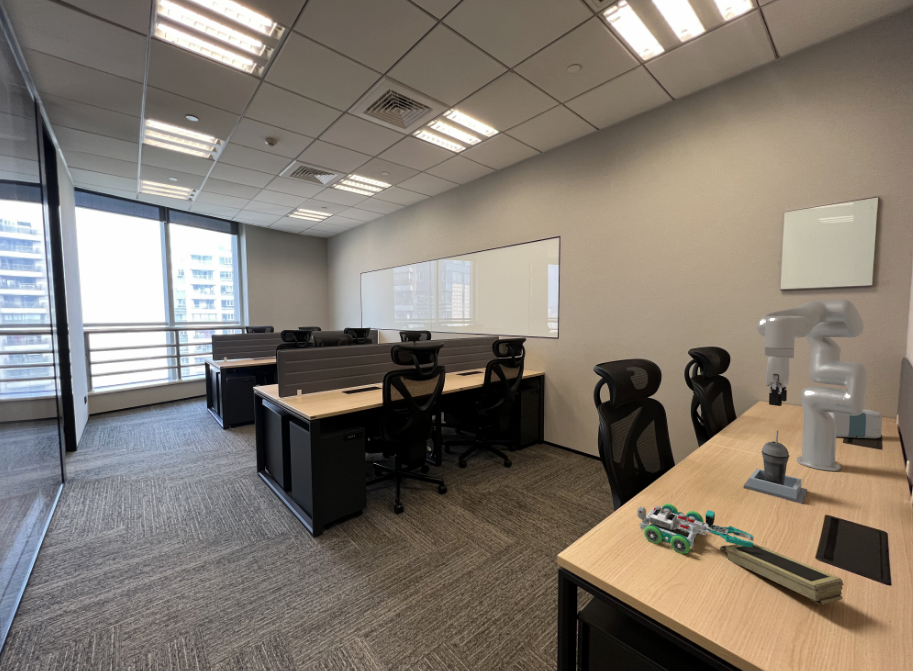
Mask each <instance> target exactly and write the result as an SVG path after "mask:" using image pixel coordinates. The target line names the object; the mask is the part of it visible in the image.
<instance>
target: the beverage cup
mask: <svg viewBox="0 0 913 671" xmlns="http://www.w3.org/2000/svg"><path fill="white" fill-rule="evenodd" d="M778 439H779V429H777V430H776V434H775V441H768V442H766V443H765V444H764V445H763V446H762V449H761V457H762V460H763V470H764V473H765V481H768V482H772V483H776V484H780V485H784V480H785V475H786V472H787V465H788V462H789V458H790V454H789V453H790V452H789V450H788V448H787V447H786V446H785V445H783V444H782V443H781V442H778V441H779V440H778Z"/></svg>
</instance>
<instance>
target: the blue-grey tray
mask: <svg viewBox="0 0 913 671" xmlns="http://www.w3.org/2000/svg"><path fill="white" fill-rule="evenodd" d="M743 488H744V489H747V490H751V491H754V492H757V493H762V494H765V495H769V496H772V497H776V498H779V499H783V500H787V501H791V502H795V503H799V504H802V505H803V504H804V501H805V499H806V496H807V494H808V489H807V488H804V487H802V478H799V477H795V476H791V475H790V476H789V475H786V474H785V480H784V485H780V484H776V483H772V482H768V481H765V473H764V469H760V468H756V469H755V471H754V472H753V473H752V474H751V475H750V477H748V479H747V481H746V482H745V483H744V484H743Z"/></svg>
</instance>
